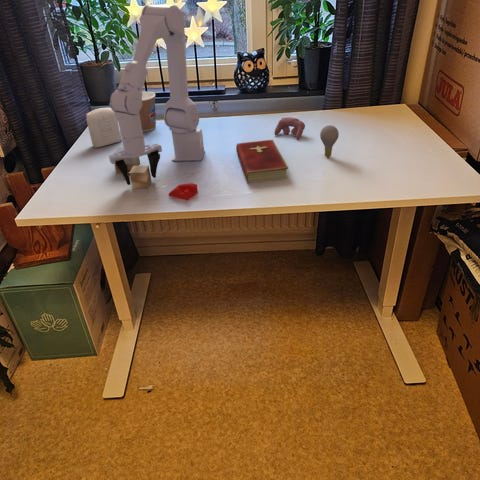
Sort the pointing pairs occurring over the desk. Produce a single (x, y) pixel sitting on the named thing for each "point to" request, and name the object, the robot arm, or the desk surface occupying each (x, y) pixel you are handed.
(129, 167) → the walnut base block
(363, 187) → the desk surface
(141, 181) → the birch block
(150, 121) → the coffee cup
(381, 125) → the desk surface
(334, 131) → the light bulb
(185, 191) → the bracket
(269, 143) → the hardcover book
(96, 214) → the desk surface
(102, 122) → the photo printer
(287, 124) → the brown arched piece
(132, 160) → the slate-grey top block
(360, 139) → the desk surface
